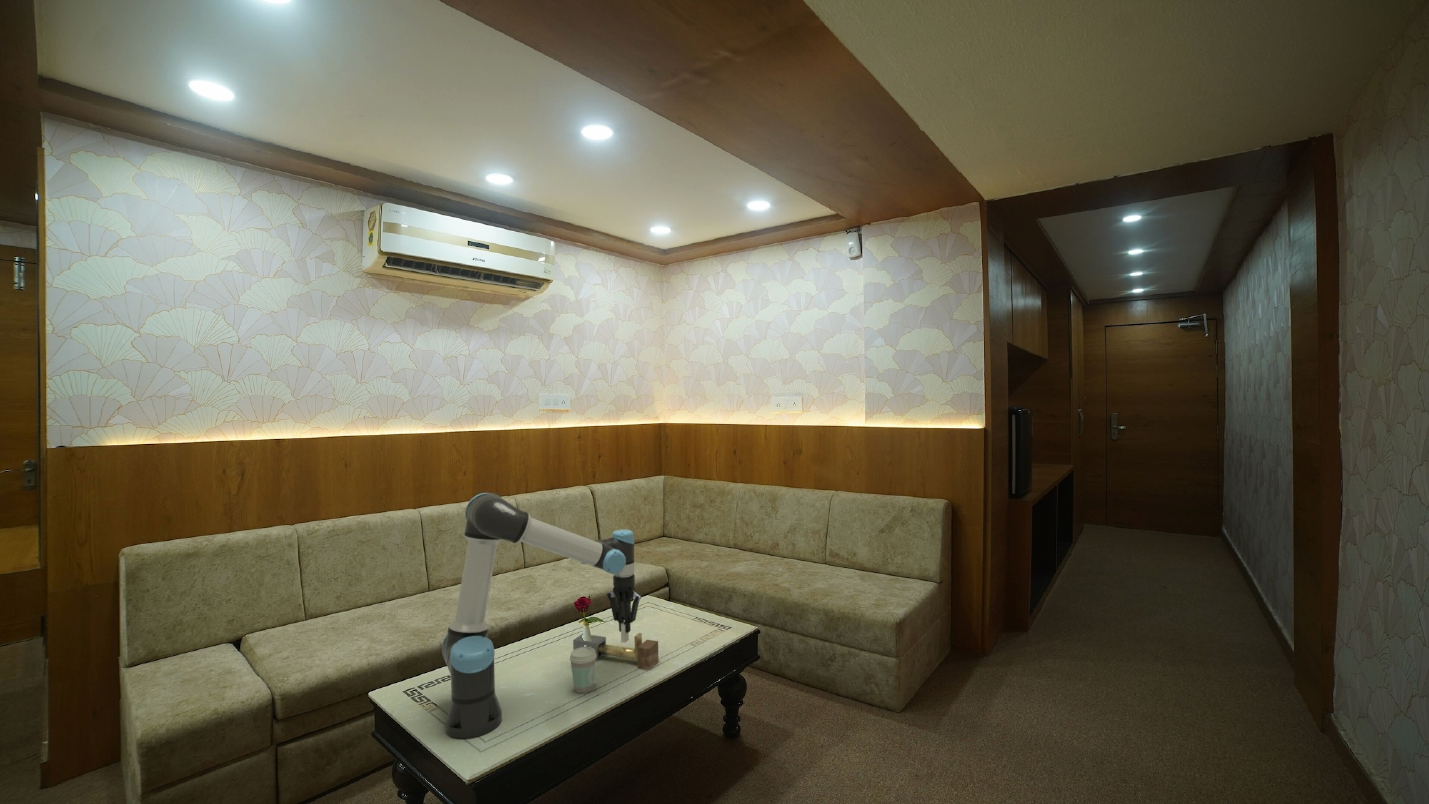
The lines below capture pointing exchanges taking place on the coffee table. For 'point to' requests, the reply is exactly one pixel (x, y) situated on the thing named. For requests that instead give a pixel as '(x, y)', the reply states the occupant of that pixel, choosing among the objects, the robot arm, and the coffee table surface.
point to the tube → (621, 649)
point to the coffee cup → (583, 668)
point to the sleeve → (590, 643)
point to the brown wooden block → (647, 654)
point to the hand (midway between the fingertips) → (625, 641)
